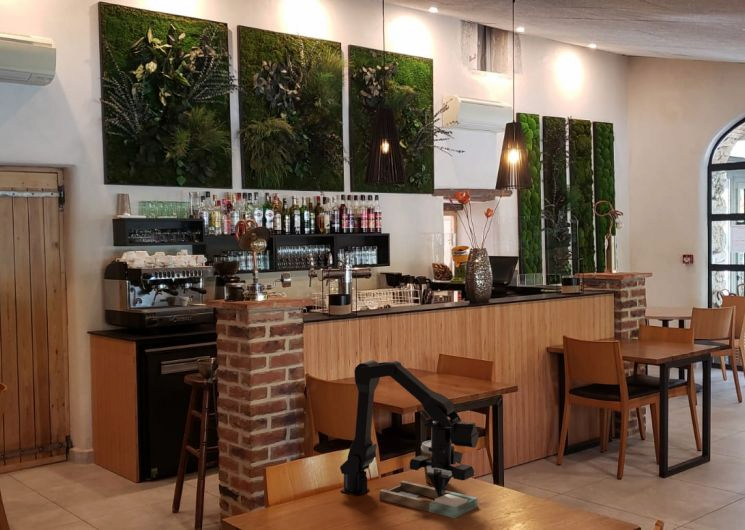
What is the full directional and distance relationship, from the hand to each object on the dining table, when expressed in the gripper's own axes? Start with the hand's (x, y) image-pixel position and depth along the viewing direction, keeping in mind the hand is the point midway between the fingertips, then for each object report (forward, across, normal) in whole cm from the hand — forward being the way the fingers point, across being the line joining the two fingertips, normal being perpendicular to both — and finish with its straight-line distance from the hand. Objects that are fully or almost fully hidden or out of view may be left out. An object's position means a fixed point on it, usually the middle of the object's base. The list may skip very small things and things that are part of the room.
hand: (440, 497), depth 233 cm
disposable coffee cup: (+3, +14, -18) cm, 23 cm away
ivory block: (+3, -4, +1) cm, 5 cm away
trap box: (+2, +4, 0) cm, 5 cm away
